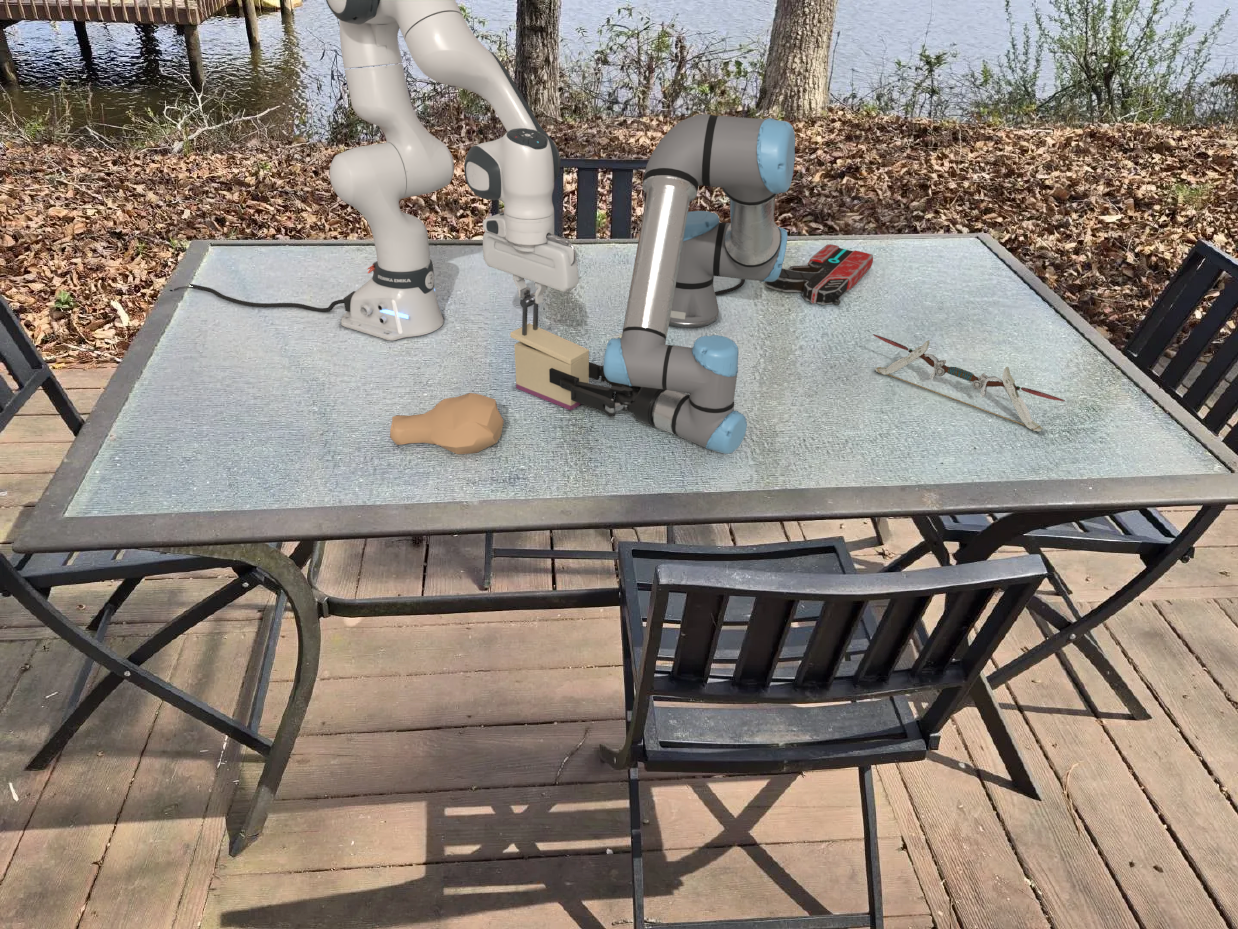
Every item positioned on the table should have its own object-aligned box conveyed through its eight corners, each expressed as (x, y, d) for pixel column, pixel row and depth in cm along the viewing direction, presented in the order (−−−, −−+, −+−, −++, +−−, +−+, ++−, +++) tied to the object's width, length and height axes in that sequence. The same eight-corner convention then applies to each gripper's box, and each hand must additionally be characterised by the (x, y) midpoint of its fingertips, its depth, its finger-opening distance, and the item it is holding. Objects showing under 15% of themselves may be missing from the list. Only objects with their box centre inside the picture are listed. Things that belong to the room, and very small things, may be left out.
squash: (504, 461, 151) (494, 421, 145) (391, 469, 152) (376, 431, 146) (510, 420, 159) (501, 381, 152) (403, 428, 160) (389, 390, 154)
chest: (516, 388, 172) (514, 344, 167) (534, 377, 176) (533, 334, 171) (570, 410, 166) (570, 365, 160) (588, 399, 169) (589, 354, 164)
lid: (510, 337, 167) (510, 296, 162) (529, 327, 170) (530, 287, 165) (570, 364, 160) (572, 323, 155) (588, 354, 164) (591, 313, 159)
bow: (1054, 434, 162) (1071, 386, 157) (1051, 438, 161) (1067, 390, 156) (868, 365, 184) (877, 321, 178) (864, 368, 183) (873, 324, 177)
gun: (761, 274, 213) (838, 293, 205) (807, 236, 235) (878, 252, 227) (759, 291, 216) (834, 311, 208) (805, 252, 238) (874, 269, 230)
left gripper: (586, 236, 152) (585, 310, 160) (499, 210, 162) (502, 280, 170) (563, 246, 148) (563, 321, 156) (475, 218, 158) (479, 290, 166)
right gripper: (631, 447, 151) (529, 405, 162) (689, 405, 163) (591, 368, 175) (632, 409, 147) (528, 368, 158) (692, 369, 159) (591, 334, 170)
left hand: (530, 300), depth 163 cm, fingers closed, pressing on lid
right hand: (561, 369), depth 166 cm, fingers closed on chest, 5 cm apart
